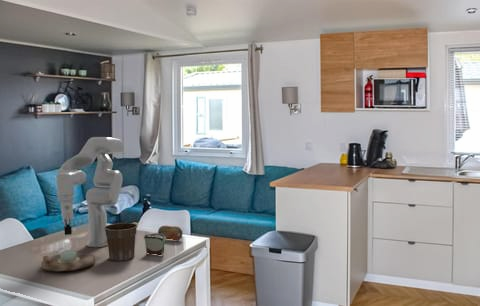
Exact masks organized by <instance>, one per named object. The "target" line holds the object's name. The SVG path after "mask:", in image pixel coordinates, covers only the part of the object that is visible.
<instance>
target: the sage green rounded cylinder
mask: <svg viewBox="0 0 480 306" xmlns="http://www.w3.org/2000/svg"><path fill="white" fill-rule="evenodd" d="M76 252H77V250H75V249H68V250H63V251H60V253H59V254H60V256H61V262H62V263H70V262H74V261H76V260H77V259H76Z"/></svg>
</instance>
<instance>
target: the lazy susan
mask: <svg viewBox="0 0 480 306" xmlns="http://www.w3.org/2000/svg"><path fill="white" fill-rule="evenodd" d="M76 259H77V260H76V261H74V262H70V263H62V262H61V256H60V253H59V254H56V255H51V256H49V255H43V257H42V261H41V268H42V269H43V270H45V271H49V272H59V271H66V272H71V271H70V270H74V271H77V269H78V270H81V269H85V268H87V267H90V266H92V265H93V264H94V263H95V262H96V256H95V254H92V253H89V252H77V251H76Z"/></svg>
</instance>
